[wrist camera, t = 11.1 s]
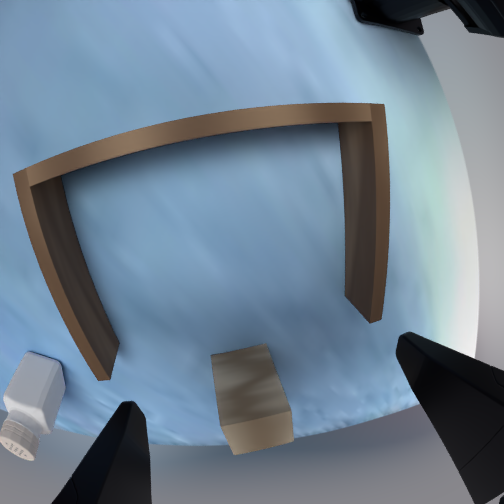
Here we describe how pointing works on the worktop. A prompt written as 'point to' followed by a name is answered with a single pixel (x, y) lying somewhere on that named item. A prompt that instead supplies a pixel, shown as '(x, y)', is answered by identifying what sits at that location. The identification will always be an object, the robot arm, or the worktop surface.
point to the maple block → (251, 400)
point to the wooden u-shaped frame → (345, 114)
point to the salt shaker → (32, 404)
